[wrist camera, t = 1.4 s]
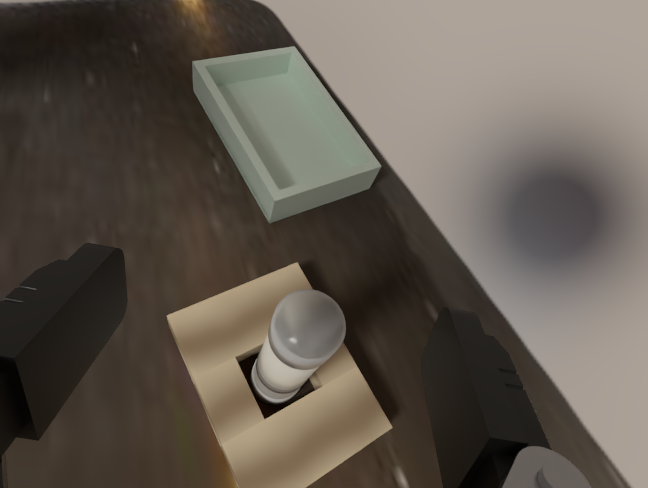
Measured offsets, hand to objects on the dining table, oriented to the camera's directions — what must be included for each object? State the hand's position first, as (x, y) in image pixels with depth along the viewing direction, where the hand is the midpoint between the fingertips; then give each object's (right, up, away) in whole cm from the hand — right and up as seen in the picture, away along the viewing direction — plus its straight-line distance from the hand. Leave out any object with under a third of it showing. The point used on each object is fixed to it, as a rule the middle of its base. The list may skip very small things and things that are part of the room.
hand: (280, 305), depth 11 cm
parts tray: (-4, +14, +38) cm, 41 cm away
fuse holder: (-3, -10, +25) cm, 27 cm away
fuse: (-3, -10, +25) cm, 27 cm away
